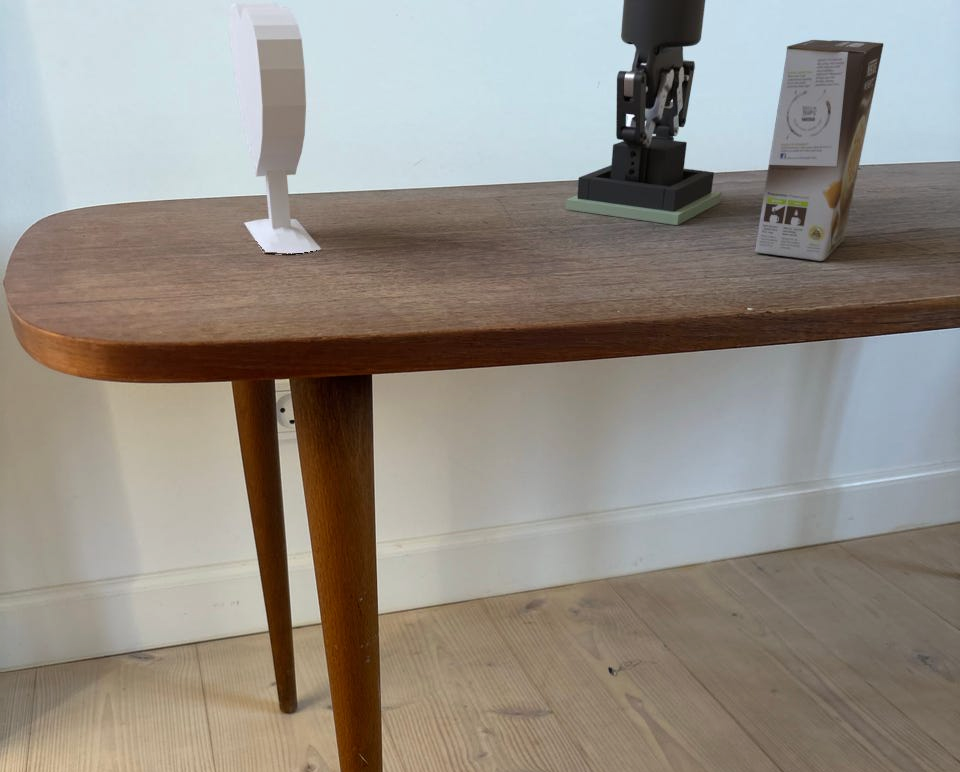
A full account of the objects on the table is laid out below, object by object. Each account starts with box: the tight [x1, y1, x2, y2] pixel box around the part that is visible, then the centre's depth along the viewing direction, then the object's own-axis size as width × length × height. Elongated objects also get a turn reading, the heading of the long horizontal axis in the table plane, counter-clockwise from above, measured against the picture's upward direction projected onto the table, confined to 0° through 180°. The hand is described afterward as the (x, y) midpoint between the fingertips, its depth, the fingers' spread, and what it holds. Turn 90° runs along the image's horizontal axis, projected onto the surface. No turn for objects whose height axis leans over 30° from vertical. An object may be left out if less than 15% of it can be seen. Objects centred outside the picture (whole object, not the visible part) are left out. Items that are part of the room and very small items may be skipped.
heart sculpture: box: [228, 2, 322, 254], centre depth 91 cm, size 16×5×18 cm, turn 19°
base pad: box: [565, 164, 722, 226], centre depth 107 cm, size 12×12×3 cm
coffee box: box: [754, 39, 884, 262], centre depth 91 cm, size 9×6×16 cm
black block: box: [610, 139, 688, 187], centre depth 106 cm, size 6×6×4 cm
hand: (647, 180), depth 106 cm, fingers closed on black block, 5 cm apart
